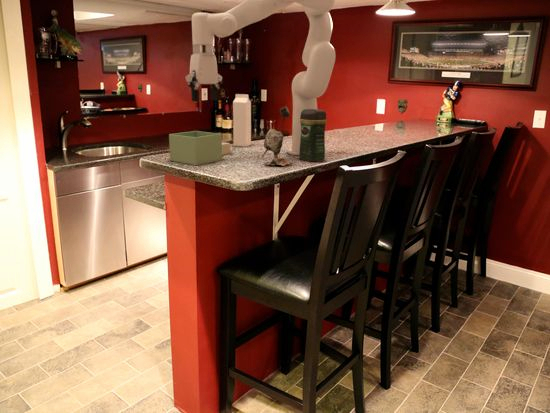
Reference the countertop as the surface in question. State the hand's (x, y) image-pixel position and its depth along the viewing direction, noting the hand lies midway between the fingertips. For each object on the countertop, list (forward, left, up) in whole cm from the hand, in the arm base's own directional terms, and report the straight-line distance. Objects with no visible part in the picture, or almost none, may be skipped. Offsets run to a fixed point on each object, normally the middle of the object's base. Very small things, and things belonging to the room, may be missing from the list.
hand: (205, 100), depth 162 cm
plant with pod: (-28, -5, -21) cm, 36 cm away
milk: (+9, -31, -21) cm, 39 cm away
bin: (-1, +7, -21) cm, 22 cm away
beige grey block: (+2, -10, -21) cm, 23 cm away
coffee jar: (-33, -21, -21) cm, 45 cm away
